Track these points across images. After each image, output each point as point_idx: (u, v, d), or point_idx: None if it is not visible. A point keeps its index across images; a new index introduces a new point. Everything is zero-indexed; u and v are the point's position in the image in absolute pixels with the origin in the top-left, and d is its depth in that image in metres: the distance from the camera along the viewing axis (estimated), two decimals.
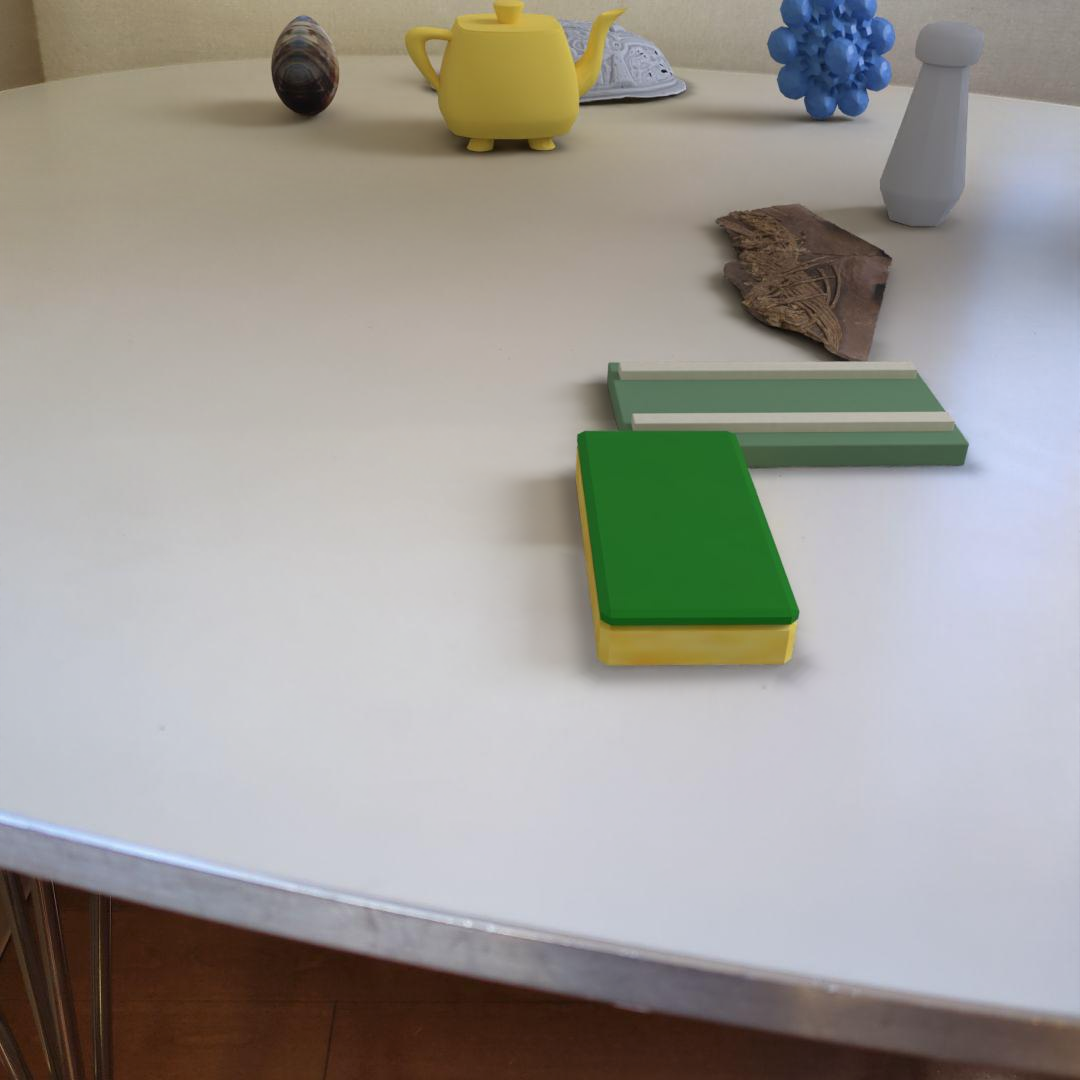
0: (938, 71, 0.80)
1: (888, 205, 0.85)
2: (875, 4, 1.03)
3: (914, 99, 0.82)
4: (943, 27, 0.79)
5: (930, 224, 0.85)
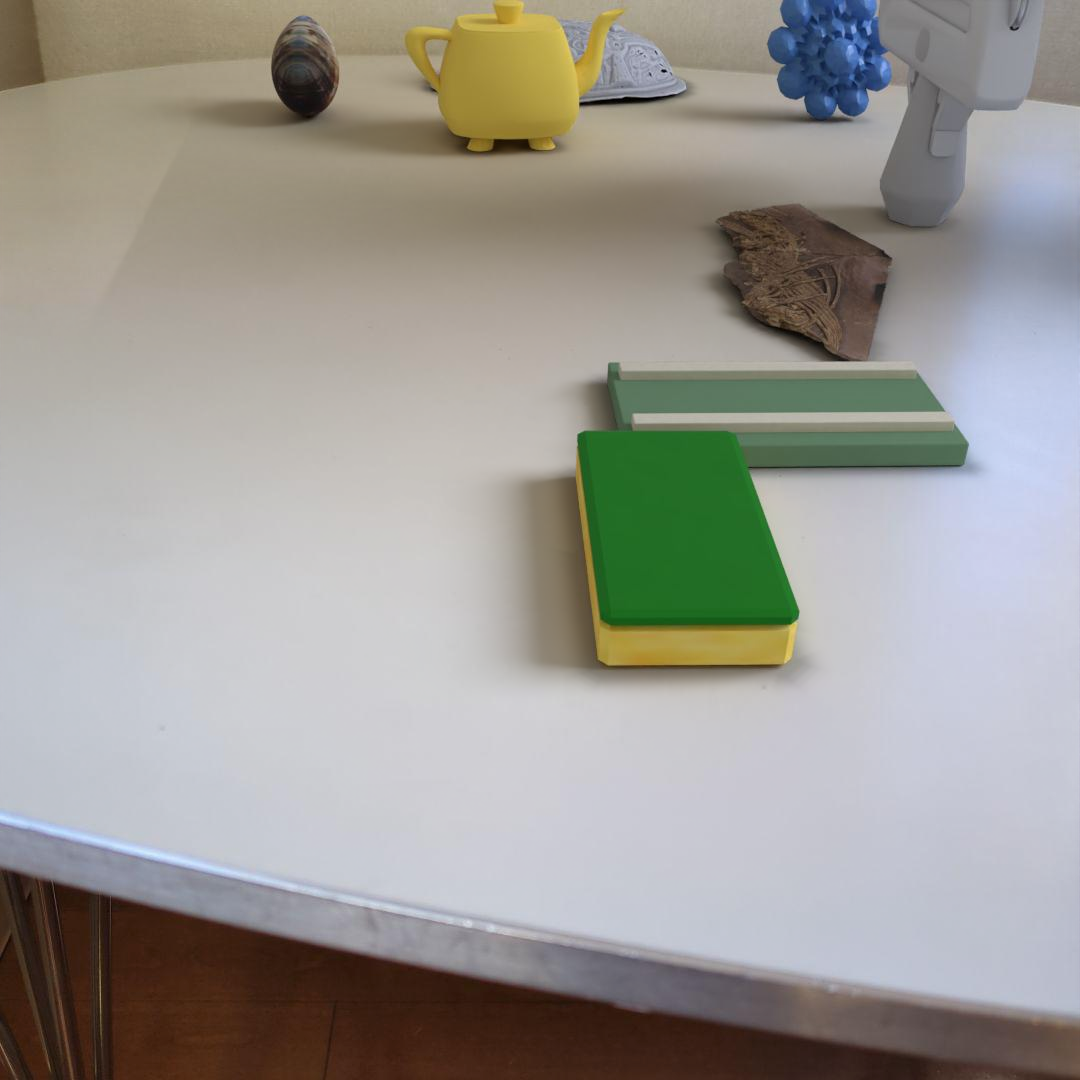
0: None
1: (888, 205, 0.85)
2: (875, 4, 1.03)
3: (914, 99, 0.82)
4: None
5: (930, 224, 0.85)
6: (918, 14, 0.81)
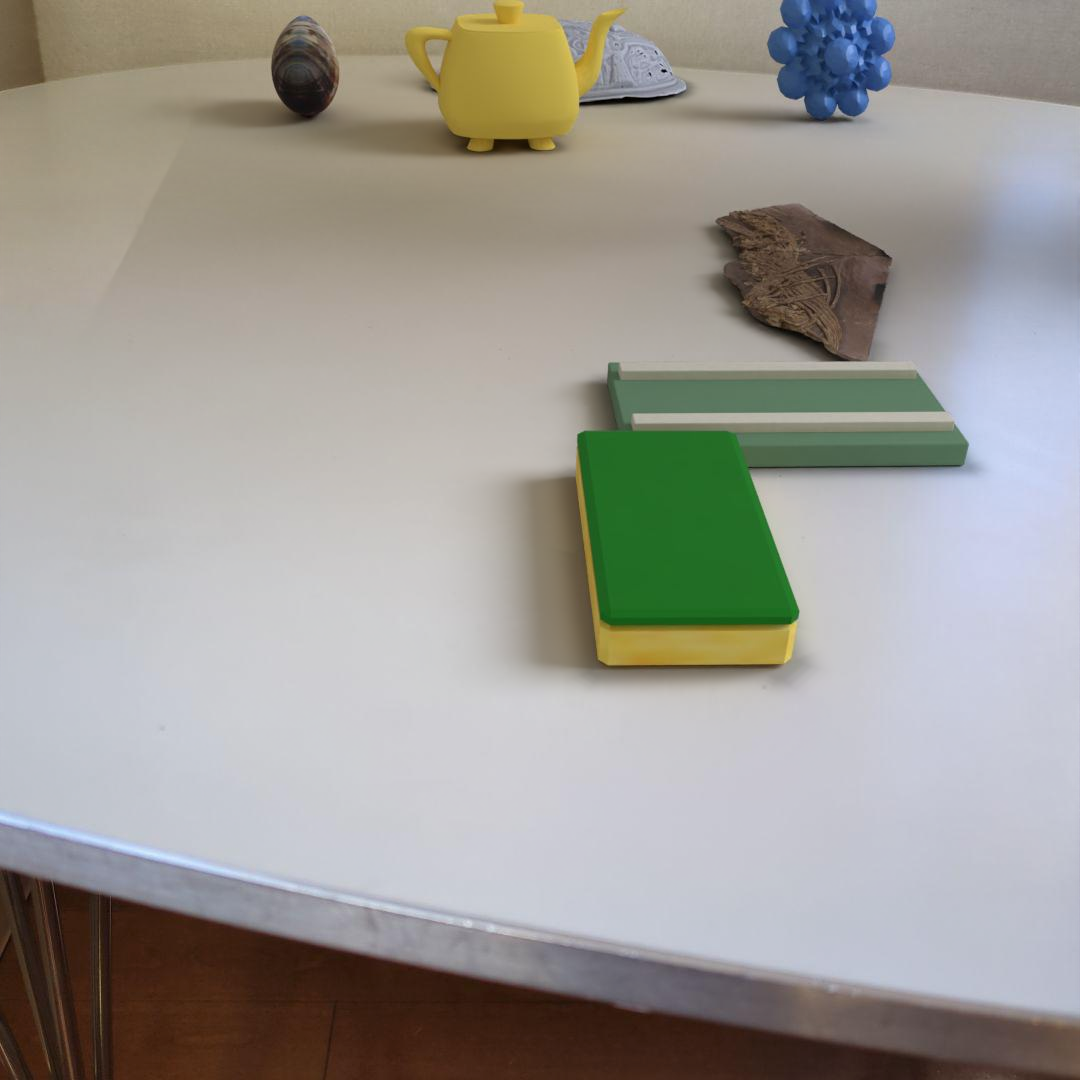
0: None
1: None
2: (875, 4, 1.03)
3: None
4: None
5: None
6: None
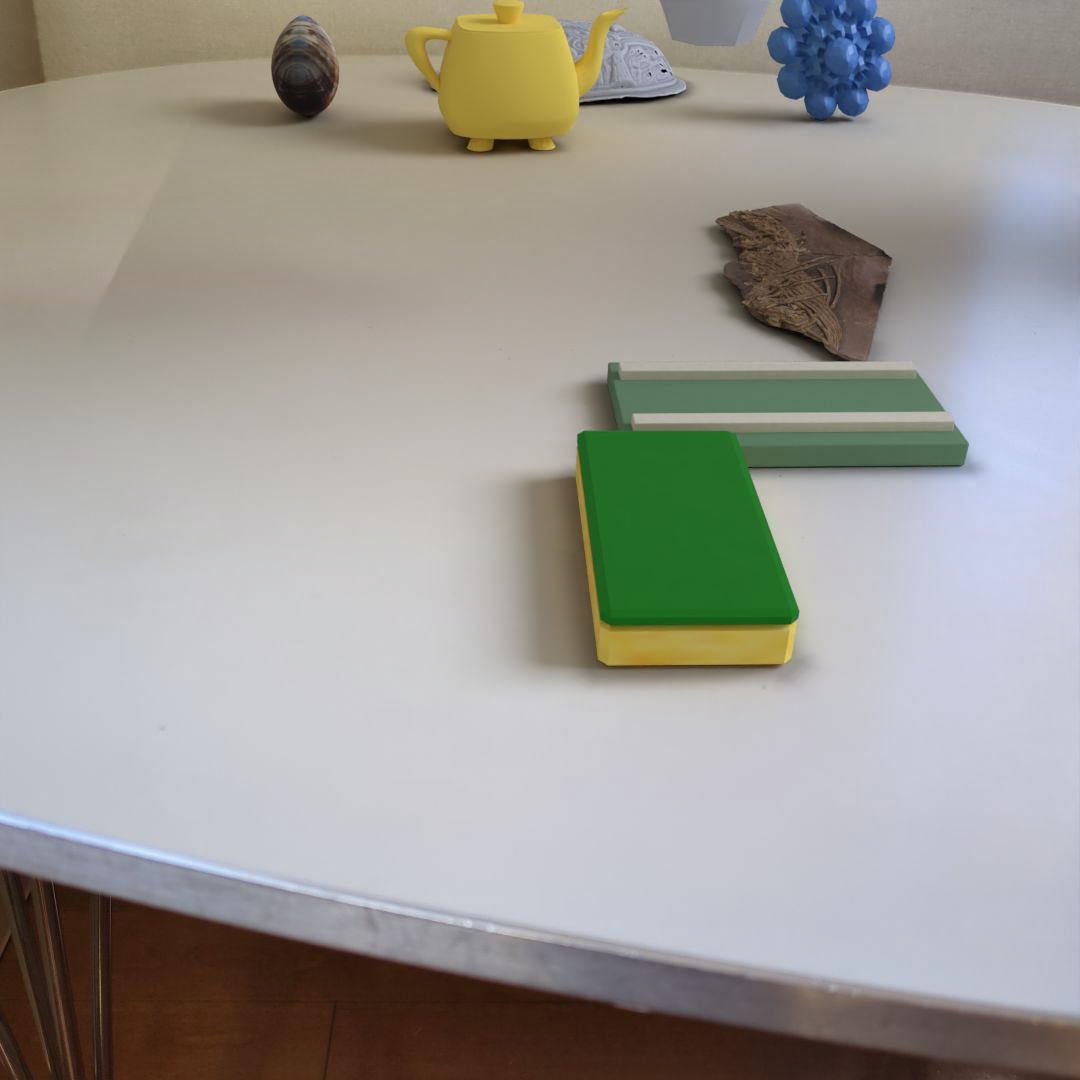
0: None
1: (667, 17, 0.60)
2: (875, 4, 1.03)
3: None
4: None
5: (726, 43, 0.60)
6: None
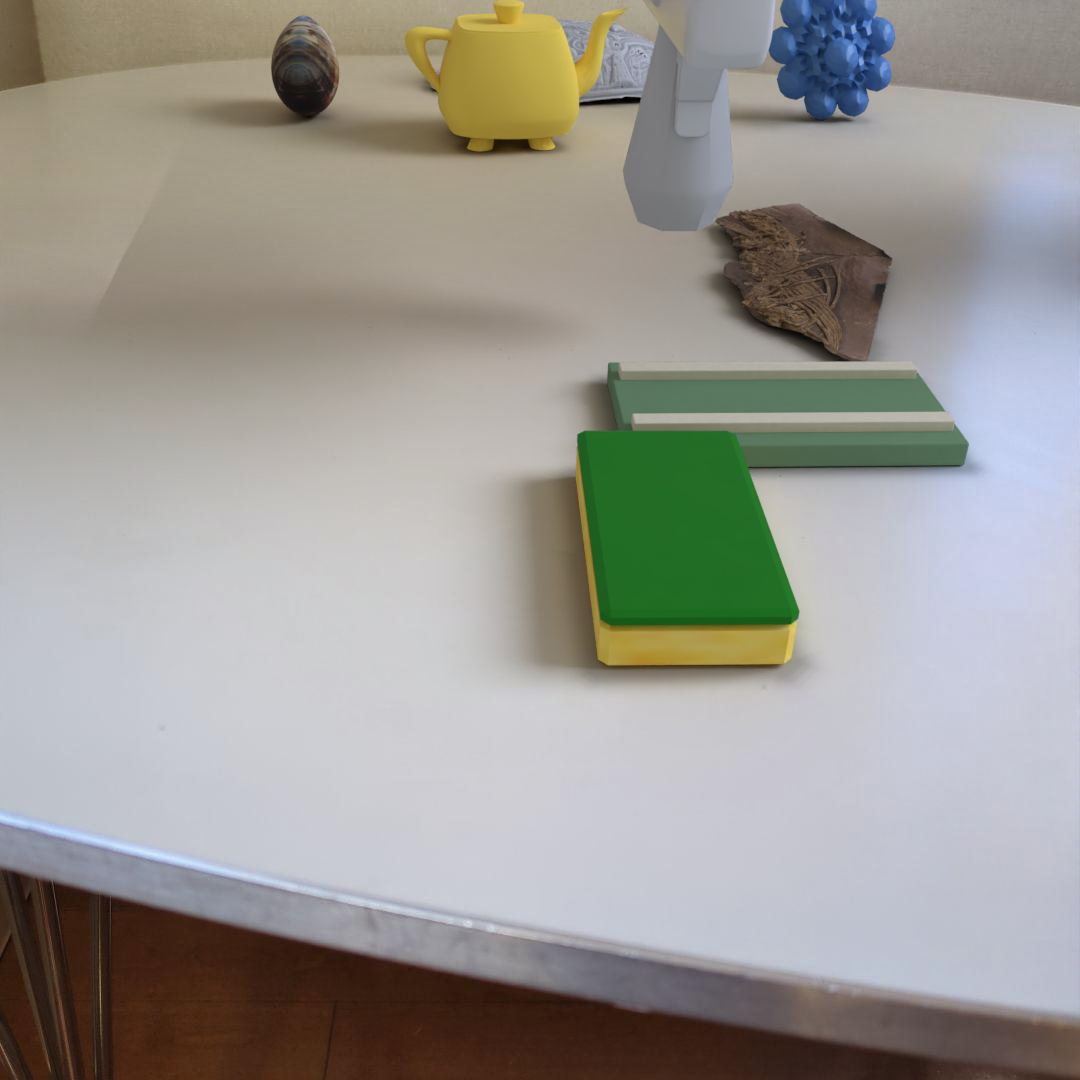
0: None
1: (633, 203, 0.64)
2: (875, 4, 1.03)
3: (652, 59, 0.60)
4: None
5: (688, 228, 0.63)
6: None
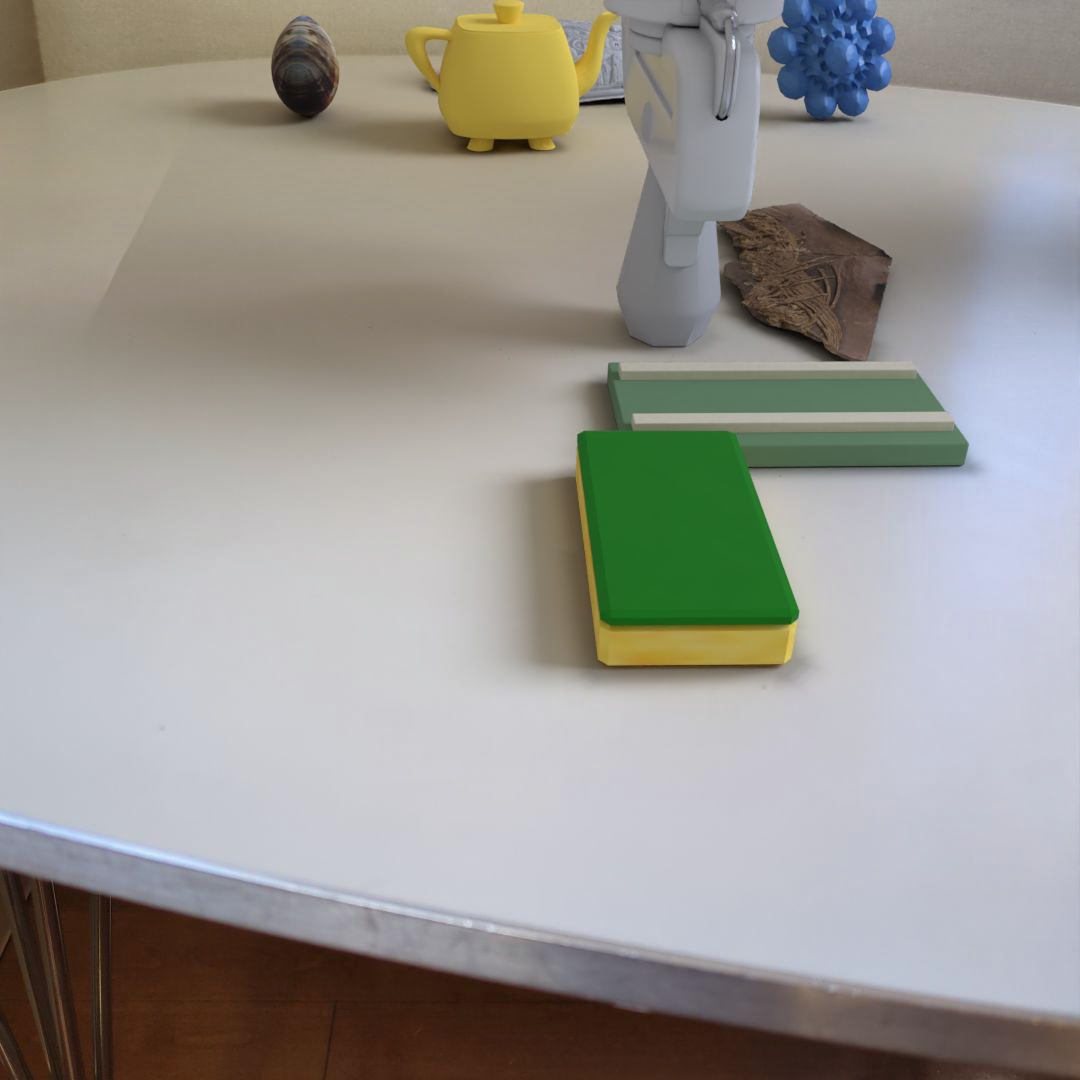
0: None
1: (626, 319, 0.67)
2: (875, 4, 1.03)
3: (644, 190, 0.64)
4: None
5: (678, 344, 0.67)
6: (645, 85, 0.63)
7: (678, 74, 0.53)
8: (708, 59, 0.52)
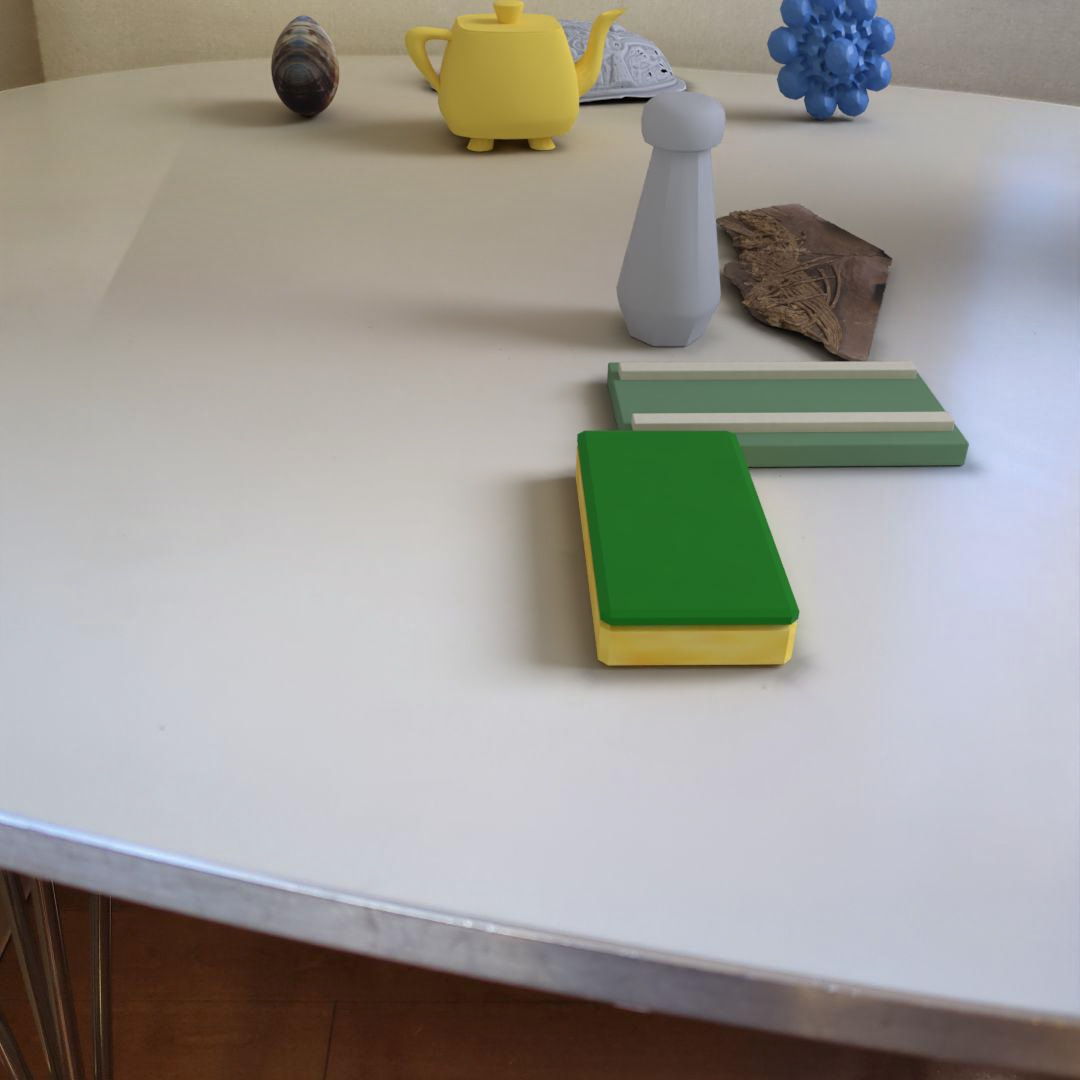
0: (667, 156, 0.62)
1: (626, 319, 0.67)
2: (875, 4, 1.03)
3: (644, 190, 0.64)
4: (669, 101, 0.61)
5: (678, 344, 0.67)
6: None
7: None
8: None
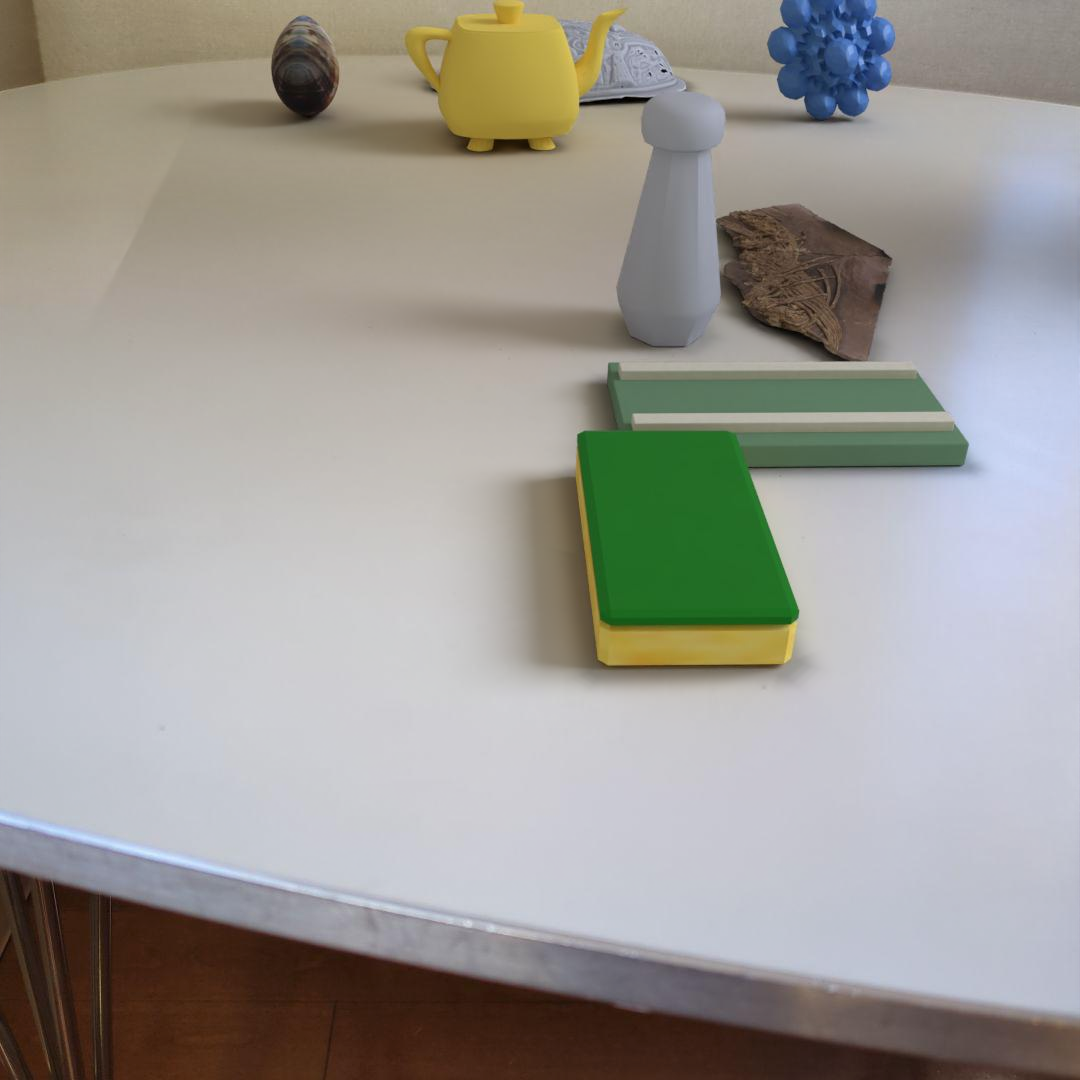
0: (667, 156, 0.62)
1: (626, 319, 0.67)
2: (875, 4, 1.03)
3: (644, 190, 0.64)
4: (669, 101, 0.61)
5: (678, 344, 0.67)
6: None
7: None
8: None
